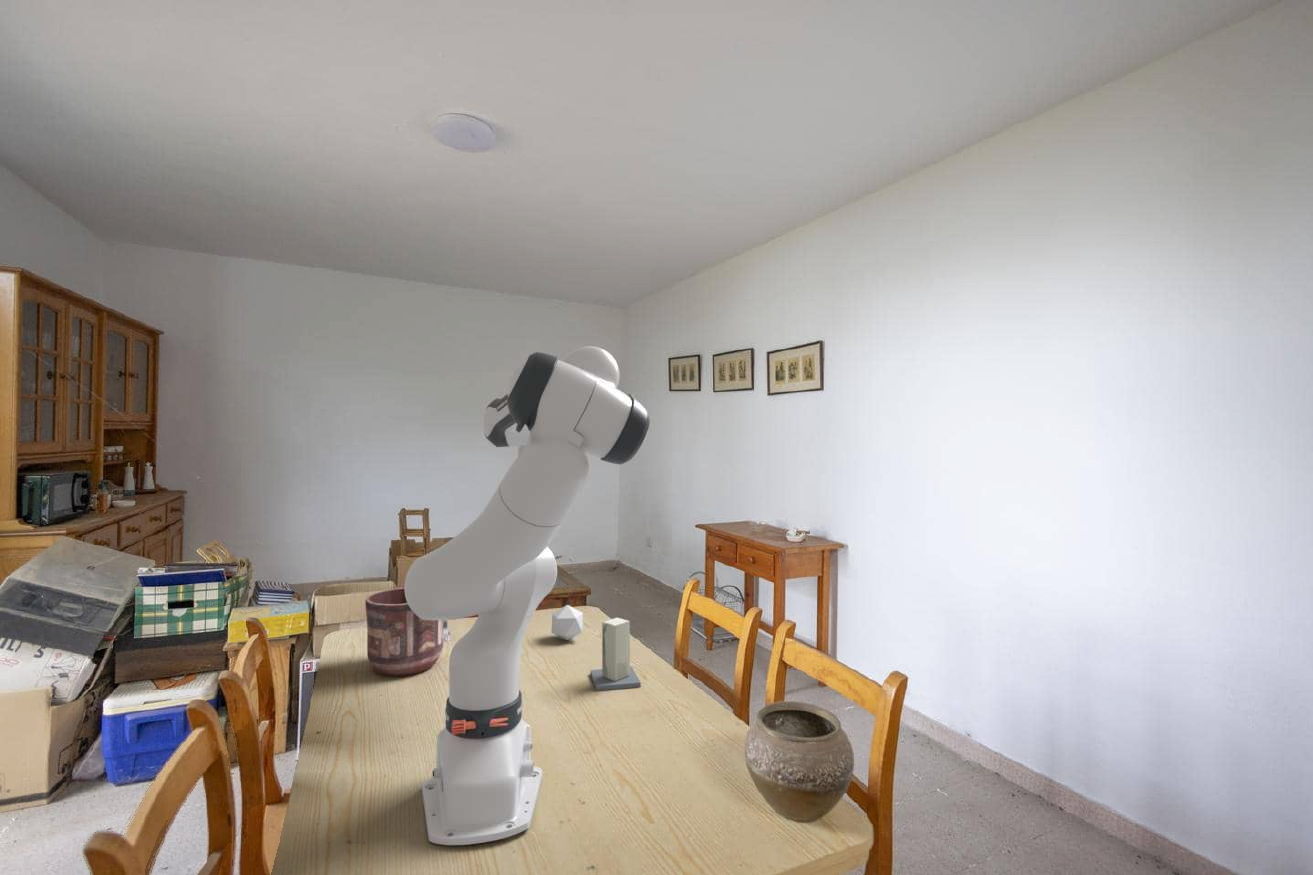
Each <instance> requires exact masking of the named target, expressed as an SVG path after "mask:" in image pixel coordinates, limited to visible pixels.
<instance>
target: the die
mask: <svg viewBox="0 0 1313 875" xmlns="http://www.w3.org/2000/svg"><path fill="white" fill-rule="evenodd" d="M551 615H552V617H551V634H553V635H554V636H557V637H559V638H561V639H563V640H565V641H569V640H571V639H573V638H575V637H577V636H579V635H580V634H582V633H583V630H584V629H583V625H584V624H583V622H584V612H582V611H580V610H578V609H576V608H574V607H572V606H570V605H569V604H566V605H565V606H563V607H561V608H559V609H558V610H556V611H554V612H552V614H551Z"/></svg>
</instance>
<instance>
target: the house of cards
mask: <svg viewBox="0 0 1313 875" xmlns="http://www.w3.org/2000/svg"><path fill="white" fill-rule="evenodd" d="M448 621H449V620H444V621H443V643H444V642H450V641H452V634H451V632H450V629H449V628H448Z"/></svg>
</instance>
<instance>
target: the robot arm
mask: <svg viewBox="0 0 1313 875" xmlns="http://www.w3.org/2000/svg"><path fill="white" fill-rule="evenodd" d="M619 383H620V369H619V365H618V364H617V361H616V359H615V358H614V357H613V355H612V354H611V353H610V352H608V351H607V350H605V349H603V347H602V348H601V347H598V346H595V345H594V346H593V345H586V346H582V347H581V346H580V347H579V348H576V349H575V350H572V351H571V352H569V353H568V354H566V355H565V356H564V357H562V358H561V359H558V357H557V356H554V355H551V354H549V353H544V352H540V351H539V352H538V351H536V352H534V353H532V354H529V355H528V357H527V358H525V359H524V360H523V361H521V362H520V363H518V365H517V366H516V367H515V369H514V370H513V372H512V374H511V376H510V378H509V380H508V385H507V393H506V394H505V395H504V396H503V397H501V398H495V399H493V401H491V402H490V403H489V404H488V405H487V406H486V408H485V411H484V414H483V418H482V420H483V422H482V426H483V432H484V436H485V438H486V440H488V441H489V443H491V444H492V445H493V446H495V448H506V447H517V448H518V449H517V457H516V459H515V460H514V461H513V462H512V464H511V465H510V467H509V468H508V469H507V471H506V473H505V475H504V476H503V478H502V480H501V482H500V483H499V485H498V486H497V489H496V490H495V491H494V494H493V495H492V496H491V498H490V500H489V501H488V503H487V505H486V506H485V508H484V509H483V510H482V512H481V513H480V515H478V517H476V518H475V520H474V521H472V522H471V523H470V524H469V525H468V526H466V528H464V529H463V530H462V531H460V532H459V533H458V534H457V535H456V536H454V537H453V538H451V539H450V540H449V541H447V542H446V543H444V544H443V545H442V546H441V545H440V547H438V548H436V549H434V550H432V551H430V552H428V553H427V554H424V555H422V556H419V557H418V558H416V559H415V560H414V562H413V563H412V564H411V565H410V567H409V569H408V570H407V574H406V575H405V579H404V587H403V588H404V591H405V597H406V601H407V603H408V605H409V607H410V608H411V610H412V611H413V612H414V613H415V614H416V615H417V616H418V617H419V618H421V619H423V620H448V621H453V620H455V621H456V620H459V619H464V618H467V617H472V616H477V615H478V616H477V618H476V620H475V622H474V623H473V625H472V626H471V628H470V629H469V630H468V631H467V632H466V633H465V634H464V635H462V637H460V639H458V641H457V642H456V643H455V644H454V646H453V647H452V650H451V652H450V656H449V666H448V667H449V669H448V671H449V672H448V675H449V676H448V697H447V699H446V701H445V702H446V703H445V708H444V709H445V711H444V717H445V726H444V728H443V729H442V730H441V731H440V732H439V733H437V735H436V756H435V757H436V761H435V763H436V765H435V766H436V768H433V770H432V777H431V778H429V779H426V780H425V781H424V782H422V788H421V795H422V801H423V809H424V815H425V816H424V817H425V822H426V823H425V824H426V832H427V837H428V841H429V842H430V843H433V844H435V845H436V844H437V845H443V846H466V845H473V844H481V843H487V842H493V841H499V840H502V839H505V838H509V837H511V836H514V835H515V836H516V835H517V834H519V833H522V832H524V831H525V830H528V828H529V827H530V825H531V824H532V821H533V820H532V819H533V815H534V811H535V807H536V805H537V804H536V803H537V800H538V796H539V792H540V787H541V784H542V780H543V769H542V768H541V767H539V766H536V765H535V763H534V760H532V759H531V751H533V741H531V725H530V724H529V723H527V722H526V721H524V719H523V718H522V716H523V698H522V697H523V696H522V691H521V690H520V674H521V673H520V672H521V657H522V656H521V655H522V647H523V641H524V640H525V639H524V638H525V635H526V632H527V629H528V627H529V624H530V621H531V619H532V617H533V615H534V613H535V612H536V609H537V608H538V606H539V605H540V603H541V602H542V601H543V600H544V599H545V598H546V596H548V594H550V593H551V591H552V590H553V588H554V587H555V584H556V581H557V577H558V565H557V563H558V562H557V560H556V557H555V555H554V554H553V552H552V549H550V548H549V545H550V544H551V542H552V541H553V539H554V537H555V536H556V534H557V532H558V531H559V530H560V529H561V527H562V525H563V524H564V522H565V521H566V519H567V518H568V516H569V514H570V513H571V512H572V511H573V508H574V506H575V504H576V502H577V501H578V498H579V497H580V495H581V492H582V490H583V487H584V485H585V482H586V479H587V477H588V474H589V468H590V467H589V459H588V457H587V455H586V454H589V455H592V456H595V457H598V458H600V461H604V462H606V463H610V464H614V465H623V464H625V463H628V462H630V461H631V460H633V458H634V457H635V456H636V455H637V453H639V451H641V449H642V448H643V446H644V444H645V442H646V441H647V440H646V439H647V437H648V432H649V428H650V422H651V420H650V416H649V414H648V411H647V409H646V408H645V407H644V406H643V405H642V404H641V403H640V402H639V401H638V400H636V398H635V397H634V396H633V395H632V394H631V393H629V394H628V393H625V392H623V391H621V390H620V389H618V385H619Z"/></svg>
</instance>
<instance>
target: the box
mask: <svg viewBox="0 0 1313 875" xmlns="http://www.w3.org/2000/svg"><path fill="white" fill-rule="evenodd" d="M601 624H602V626H601V627H602V629H601V630H602V631H601V632H602V634H601V635H602V640H601V642H602V645H601V646H602V648H601V650H602V651H601V652H602V653H601V654H602V658H601V659H602V664H601V669H602V676H603V677H605V678H608V679H610V680H613V681H617V680H619V679H621V678H624V677H626V676H628V675H630V667H631V662H630V661H631V648H630V647H631V645H630V644H631V640H630V637H631V636H630V634H631V631H630V628H631V626H630V624H631V622H630V620H627V619H623V618H620V617H615V618H611V619H607V620H605V621H603V622H602V623H601Z"/></svg>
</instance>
